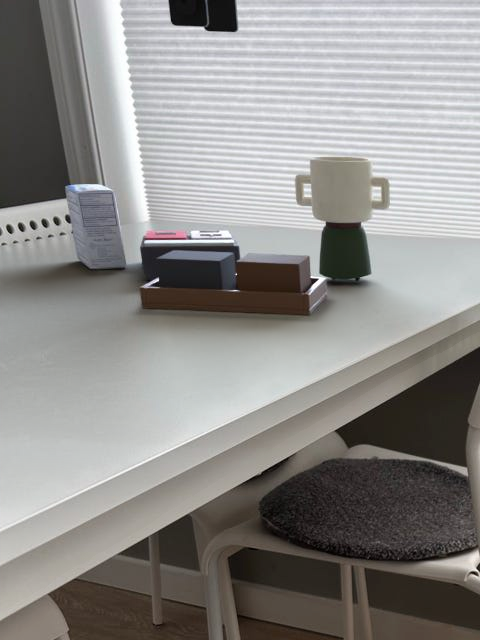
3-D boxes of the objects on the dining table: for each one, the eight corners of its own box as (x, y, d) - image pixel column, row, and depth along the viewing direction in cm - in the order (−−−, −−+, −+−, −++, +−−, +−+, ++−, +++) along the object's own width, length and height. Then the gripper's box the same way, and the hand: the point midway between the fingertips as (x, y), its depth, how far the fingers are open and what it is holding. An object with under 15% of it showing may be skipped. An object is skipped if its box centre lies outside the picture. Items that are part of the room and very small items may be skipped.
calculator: (231, 228, 122) (238, 238, 109) (235, 264, 124) (242, 278, 111) (142, 228, 119) (138, 239, 106) (147, 265, 121) (144, 280, 108)
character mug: (395, 277, 116) (394, 158, 109) (385, 288, 110) (383, 162, 103) (307, 273, 116) (301, 154, 110) (293, 283, 110) (285, 158, 104)
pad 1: (161, 299, 98) (155, 258, 96) (178, 289, 103) (173, 250, 101) (223, 302, 98) (219, 260, 96) (237, 292, 102) (233, 252, 100)
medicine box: (127, 268, 115) (116, 190, 111) (89, 270, 113) (75, 190, 109) (113, 258, 121) (102, 183, 117) (76, 260, 119) (63, 184, 115)
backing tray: (141, 308, 96) (139, 287, 95) (172, 290, 105) (169, 271, 104) (310, 315, 96) (308, 294, 95) (327, 296, 104) (326, 277, 103)
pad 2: (239, 302, 98) (235, 261, 96) (252, 292, 102) (248, 253, 100) (301, 305, 98) (299, 264, 96) (311, 295, 102) (309, 255, 100)
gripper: (171, -194, 85) (194, 32, 94) (96, -253, 70) (132, 22, 79) (254, -191, 85) (269, 35, 94) (196, -250, 70) (221, 25, 79)
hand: (206, 28), depth 86 cm, fingers open, 9 cm apart
